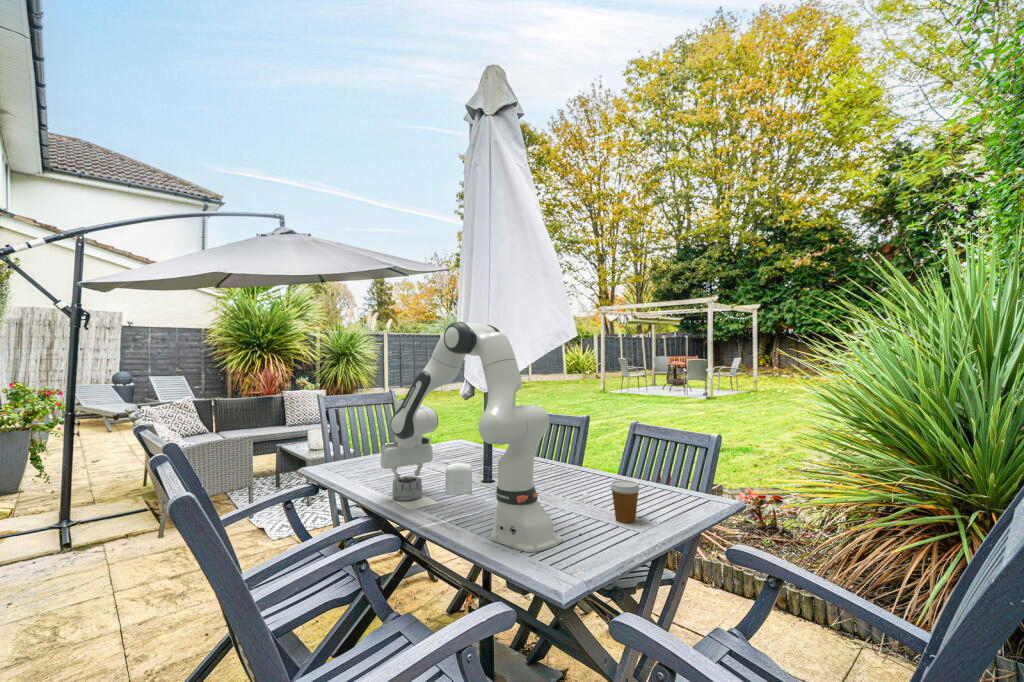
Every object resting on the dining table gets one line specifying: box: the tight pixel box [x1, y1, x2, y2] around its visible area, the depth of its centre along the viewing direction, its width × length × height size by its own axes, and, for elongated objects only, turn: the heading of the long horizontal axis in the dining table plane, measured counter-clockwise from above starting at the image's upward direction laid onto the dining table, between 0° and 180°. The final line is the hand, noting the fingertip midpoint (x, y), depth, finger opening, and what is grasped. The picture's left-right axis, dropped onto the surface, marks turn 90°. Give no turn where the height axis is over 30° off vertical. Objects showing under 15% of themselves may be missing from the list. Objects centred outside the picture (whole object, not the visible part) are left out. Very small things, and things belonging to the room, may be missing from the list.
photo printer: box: [445, 462, 473, 496], centre depth 190 cm, size 10×4×12 cm, turn 98°
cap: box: [400, 476, 414, 483], centre depth 184 cm, size 5×5×4 cm
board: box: [386, 494, 439, 511], centre depth 181 cm, size 19×12×1 cm, turn 38°
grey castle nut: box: [391, 475, 423, 502], centre depth 184 cm, size 11×11×6 cm
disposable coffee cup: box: [609, 479, 641, 524], centre depth 160 cm, size 10×10×12 cm
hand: (407, 477), depth 184 cm, fingers open, 7 cm apart
